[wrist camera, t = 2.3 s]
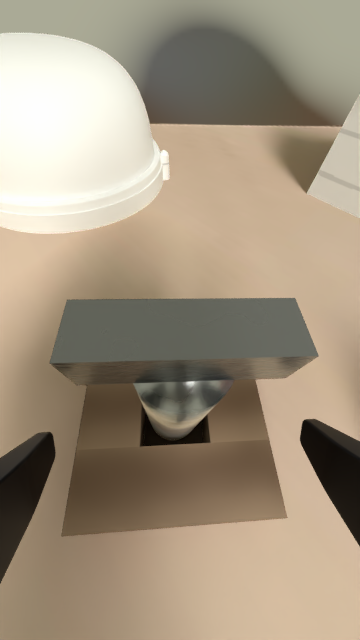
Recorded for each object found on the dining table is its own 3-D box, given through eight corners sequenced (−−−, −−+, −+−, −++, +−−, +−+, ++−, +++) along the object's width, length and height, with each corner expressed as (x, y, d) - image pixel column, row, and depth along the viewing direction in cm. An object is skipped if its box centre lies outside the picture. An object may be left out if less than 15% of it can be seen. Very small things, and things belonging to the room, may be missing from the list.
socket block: (266, 507, 15) (287, 517, 12) (80, 521, 14) (61, 536, 11) (233, 344, 21) (243, 328, 18) (105, 346, 20) (96, 330, 18)
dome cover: (-89, 233, 27) (-290, 56, 15) (2, 134, 43) (-61, 10, 31) (172, 236, 29) (177, 85, 17) (167, 141, 45) (168, 28, 33)
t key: (216, 438, 17) (333, 393, 5) (130, 442, 16) (37, 404, 4) (210, 390, 19) (285, 275, 7) (133, 392, 18) (73, 274, 6)
